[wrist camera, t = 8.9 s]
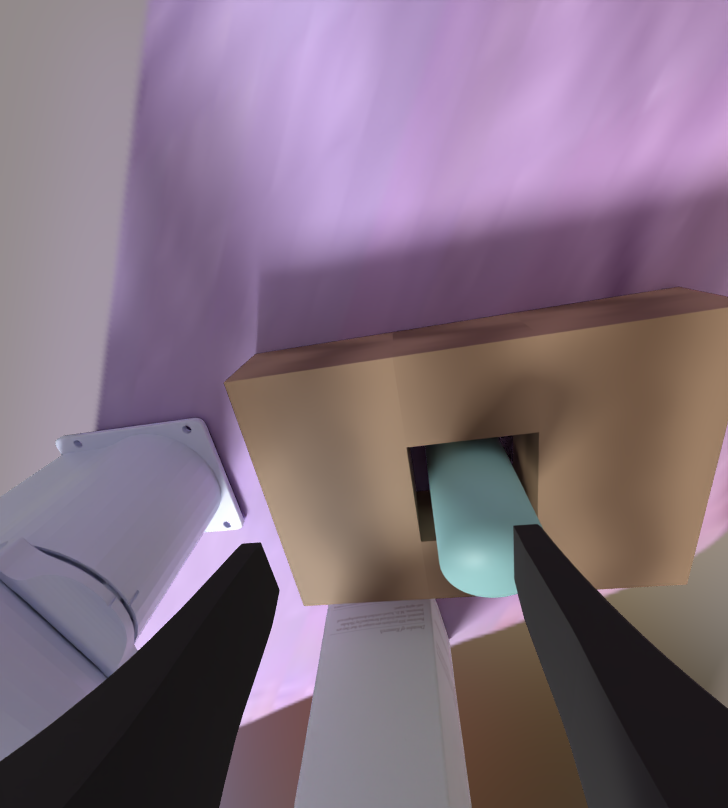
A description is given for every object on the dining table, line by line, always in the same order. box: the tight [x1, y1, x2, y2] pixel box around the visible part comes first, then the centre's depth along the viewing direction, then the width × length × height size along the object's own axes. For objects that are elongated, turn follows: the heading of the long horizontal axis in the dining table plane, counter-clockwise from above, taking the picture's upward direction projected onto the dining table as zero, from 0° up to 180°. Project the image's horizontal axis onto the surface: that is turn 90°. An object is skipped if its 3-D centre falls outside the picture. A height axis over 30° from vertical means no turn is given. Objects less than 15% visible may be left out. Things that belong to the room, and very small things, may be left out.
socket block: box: [224, 287, 728, 606], centre depth 19 cm, size 20×14×4 cm
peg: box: [425, 437, 544, 598], centre depth 17 cm, size 4×4×8 cm
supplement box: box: [294, 599, 471, 808], centre depth 22 cm, size 7×7×13 cm
